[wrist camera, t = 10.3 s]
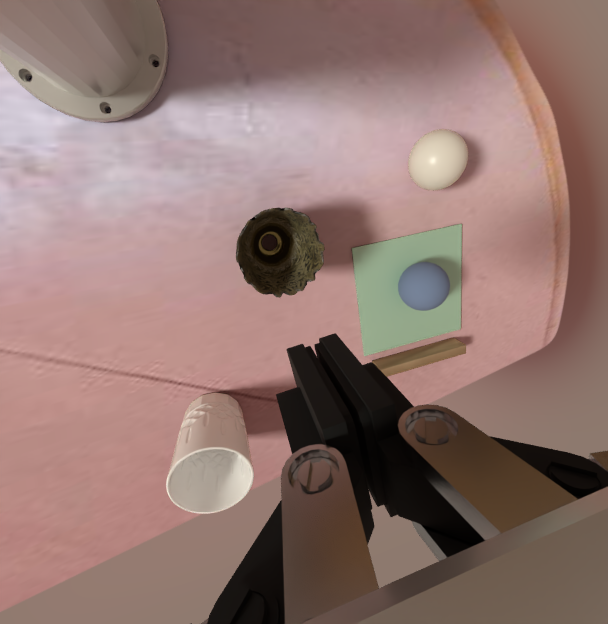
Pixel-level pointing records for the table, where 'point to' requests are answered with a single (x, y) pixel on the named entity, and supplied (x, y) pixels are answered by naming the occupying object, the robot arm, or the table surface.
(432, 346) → the stop rail
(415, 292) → the object ball
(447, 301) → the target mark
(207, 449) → the white cup
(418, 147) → the cream ball
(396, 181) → the table surface
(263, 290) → the cup
